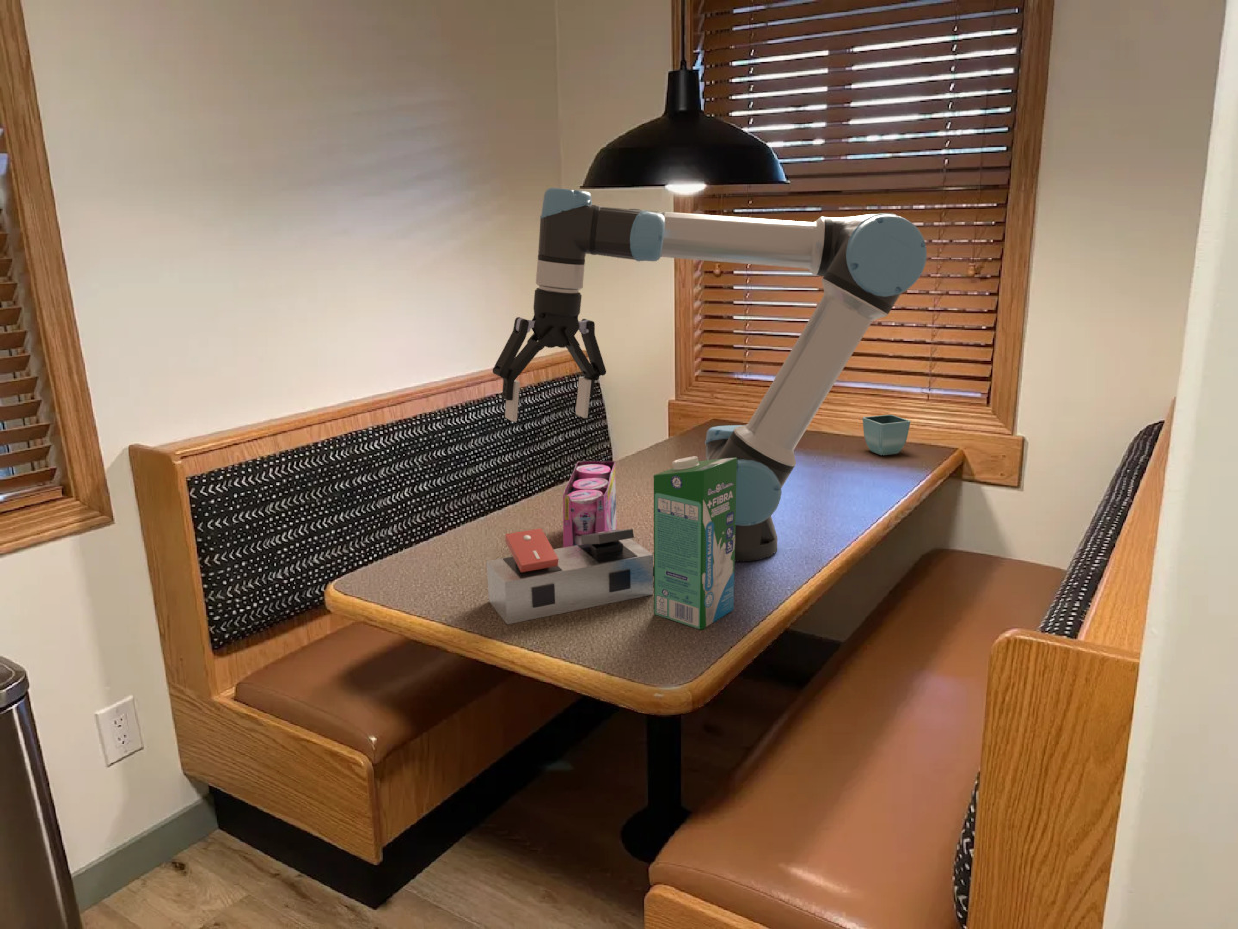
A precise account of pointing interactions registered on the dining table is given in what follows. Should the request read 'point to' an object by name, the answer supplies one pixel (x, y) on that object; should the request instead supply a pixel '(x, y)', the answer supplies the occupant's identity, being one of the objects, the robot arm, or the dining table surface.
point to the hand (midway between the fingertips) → (547, 417)
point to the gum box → (589, 501)
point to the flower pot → (885, 433)
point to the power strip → (571, 580)
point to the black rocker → (607, 536)
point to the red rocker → (531, 550)
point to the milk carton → (695, 540)
